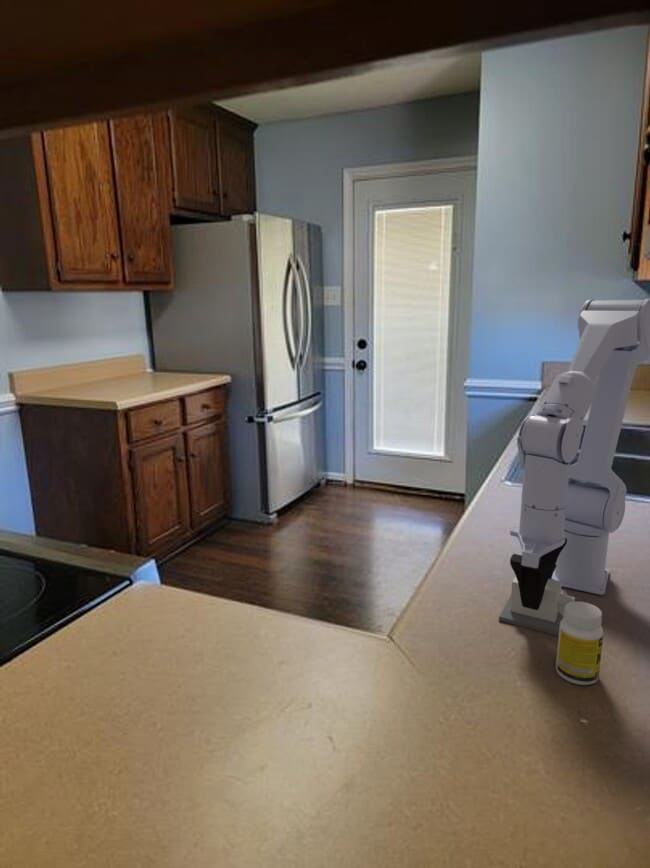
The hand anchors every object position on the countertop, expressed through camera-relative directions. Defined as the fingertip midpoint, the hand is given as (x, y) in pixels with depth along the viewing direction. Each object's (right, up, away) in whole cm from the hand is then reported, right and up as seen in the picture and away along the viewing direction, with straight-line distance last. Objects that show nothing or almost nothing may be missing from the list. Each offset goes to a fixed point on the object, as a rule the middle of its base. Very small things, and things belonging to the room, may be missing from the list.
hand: (536, 595), depth 82 cm
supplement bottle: (0, -6, -12) cm, 14 cm away
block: (0, -2, +1) cm, 2 cm away
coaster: (0, -3, +1) cm, 3 cm away
